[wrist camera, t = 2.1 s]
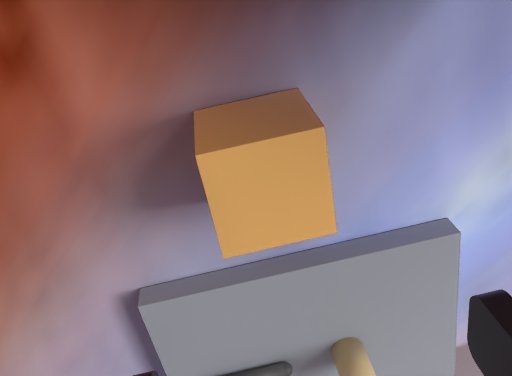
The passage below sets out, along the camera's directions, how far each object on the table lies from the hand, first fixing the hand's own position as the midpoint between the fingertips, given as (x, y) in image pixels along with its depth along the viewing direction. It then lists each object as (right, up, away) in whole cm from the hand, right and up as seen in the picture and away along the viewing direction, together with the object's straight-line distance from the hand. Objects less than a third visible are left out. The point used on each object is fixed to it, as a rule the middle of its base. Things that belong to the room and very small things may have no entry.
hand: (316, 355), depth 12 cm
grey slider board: (+2, -5, +18) cm, 19 cm away
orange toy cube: (-2, +6, +11) cm, 13 cm away
